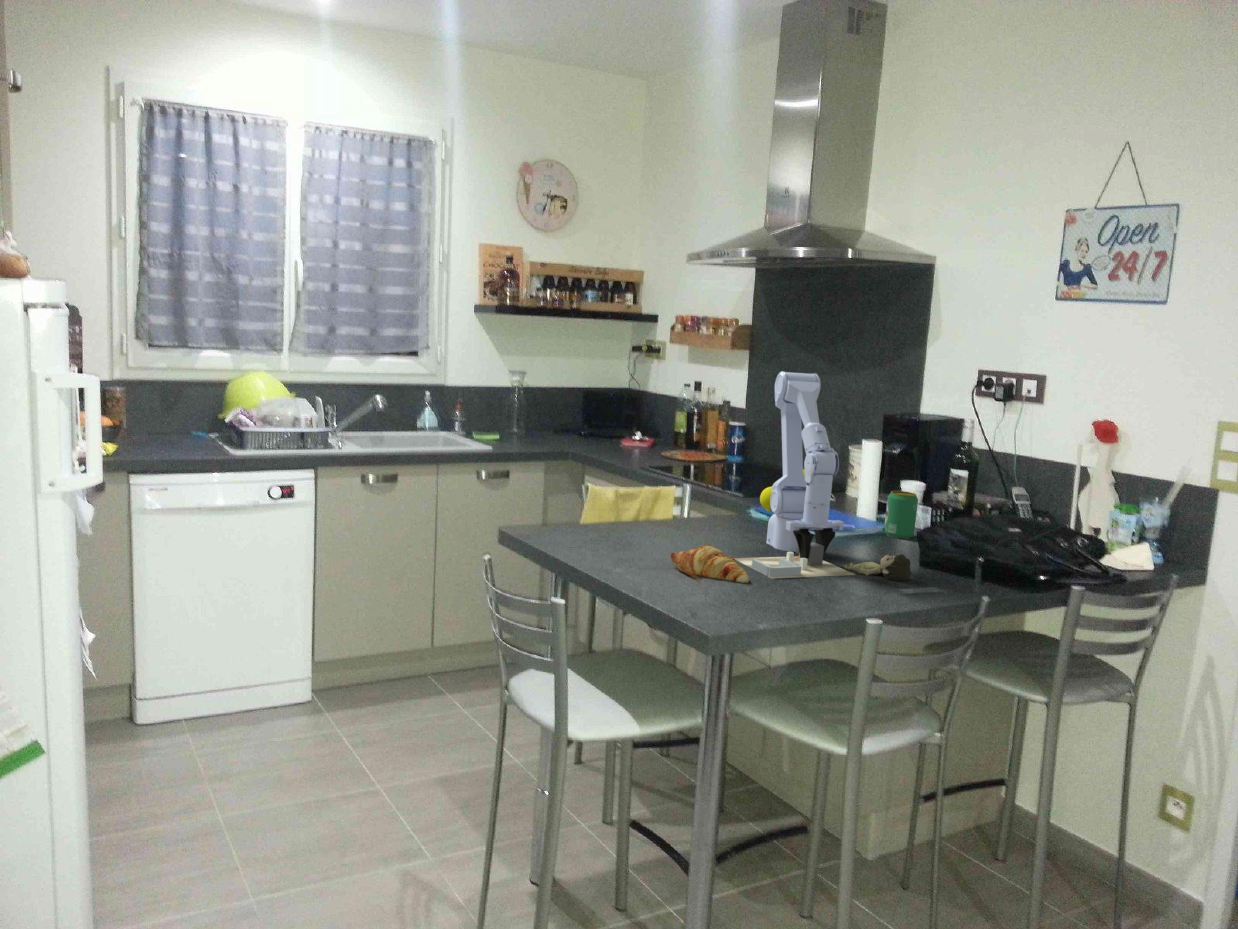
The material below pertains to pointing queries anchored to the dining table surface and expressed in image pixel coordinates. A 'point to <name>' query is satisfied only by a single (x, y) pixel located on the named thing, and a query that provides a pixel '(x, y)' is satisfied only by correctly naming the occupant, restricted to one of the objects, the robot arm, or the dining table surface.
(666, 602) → the dining table surface
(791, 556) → the twin white cubes
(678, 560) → the croissant
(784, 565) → the end holder
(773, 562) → the board
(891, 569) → the figurine
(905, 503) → the beverage can
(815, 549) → the block
